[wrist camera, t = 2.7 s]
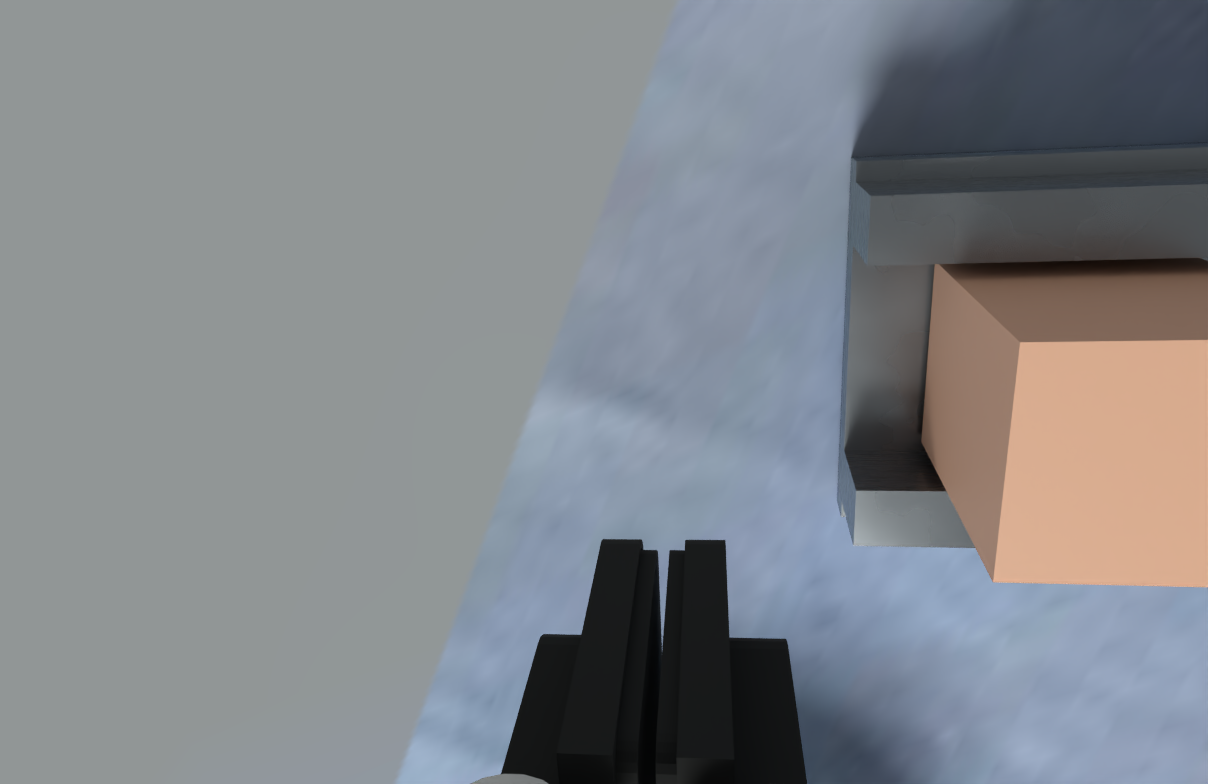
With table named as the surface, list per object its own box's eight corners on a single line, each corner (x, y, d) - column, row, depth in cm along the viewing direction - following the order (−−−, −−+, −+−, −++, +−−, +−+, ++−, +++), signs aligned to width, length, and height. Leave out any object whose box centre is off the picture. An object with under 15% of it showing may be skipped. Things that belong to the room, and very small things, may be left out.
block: (1191, 254, 22) (1391, 337, 15) (1158, 442, 23) (1324, 589, 17) (935, 260, 22) (1020, 341, 16) (921, 441, 24) (993, 582, 18)
